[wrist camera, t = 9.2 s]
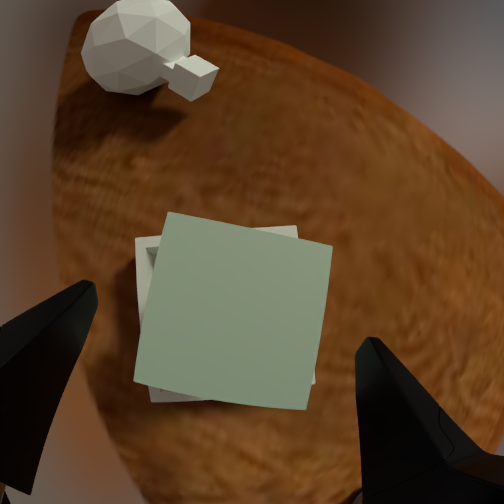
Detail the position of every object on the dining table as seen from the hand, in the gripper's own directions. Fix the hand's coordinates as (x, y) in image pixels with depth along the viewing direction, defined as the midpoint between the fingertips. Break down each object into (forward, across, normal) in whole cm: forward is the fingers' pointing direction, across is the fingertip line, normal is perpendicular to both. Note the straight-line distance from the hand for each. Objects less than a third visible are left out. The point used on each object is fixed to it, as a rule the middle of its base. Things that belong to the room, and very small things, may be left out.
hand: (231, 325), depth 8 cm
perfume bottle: (+19, +10, -6) cm, 22 cm away
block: (+6, 0, +6) cm, 9 cm away
